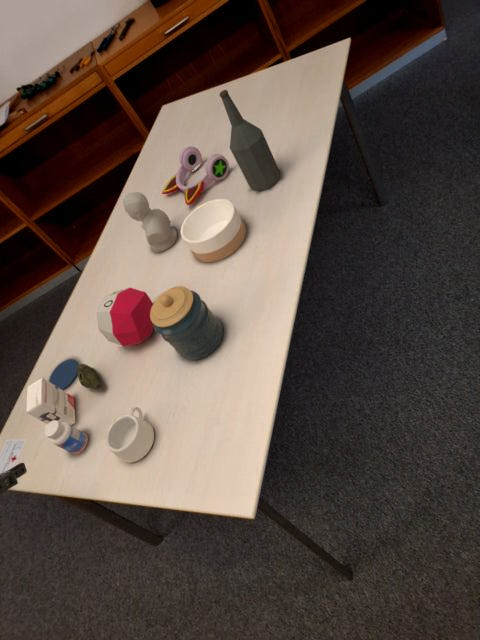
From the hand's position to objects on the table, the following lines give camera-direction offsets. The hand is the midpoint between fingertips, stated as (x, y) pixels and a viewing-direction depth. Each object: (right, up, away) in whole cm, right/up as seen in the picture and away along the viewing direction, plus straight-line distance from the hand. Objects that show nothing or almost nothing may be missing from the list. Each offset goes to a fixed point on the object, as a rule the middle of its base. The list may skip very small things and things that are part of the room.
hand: (8, 470), depth 89 cm
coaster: (-3, +14, +36) cm, 39 cm away
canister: (+37, +25, +22) cm, 50 cm away
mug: (+24, +3, +12) cm, 27 cm away
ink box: (+2, +6, +27) cm, 27 cm away
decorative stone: (+8, +14, +29) cm, 33 cm away
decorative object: (+20, +27, +33) cm, 47 cm away
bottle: (+55, +74, +49) cm, 104 cm away
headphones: (+32, +78, +66) cm, 107 cm away
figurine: (+23, +56, +54) cm, 81 cm away
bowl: (+41, +54, +42) cm, 79 cm away
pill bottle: (+8, 0, +19) cm, 20 cm away
